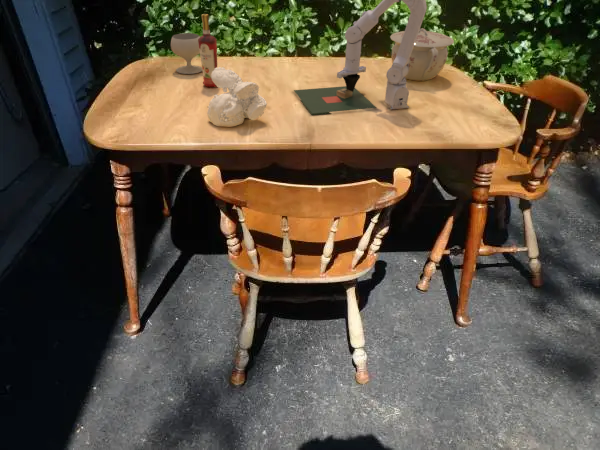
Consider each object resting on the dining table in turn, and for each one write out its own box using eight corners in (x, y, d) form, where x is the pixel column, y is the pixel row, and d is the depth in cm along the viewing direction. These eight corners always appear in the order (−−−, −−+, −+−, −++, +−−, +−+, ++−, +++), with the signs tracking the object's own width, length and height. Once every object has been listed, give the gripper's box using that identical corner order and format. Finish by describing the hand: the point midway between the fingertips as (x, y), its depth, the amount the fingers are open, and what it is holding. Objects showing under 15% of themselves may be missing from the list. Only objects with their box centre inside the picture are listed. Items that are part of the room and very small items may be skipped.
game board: (376, 109, 181) (376, 107, 181) (311, 115, 175) (311, 113, 174) (352, 87, 201) (352, 85, 201) (293, 92, 195) (293, 90, 195)
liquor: (199, 87, 197) (192, 15, 181) (206, 82, 203) (200, 12, 187) (216, 89, 196) (210, 17, 180) (222, 83, 202) (217, 13, 186)
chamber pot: (398, 64, 231) (404, 18, 219) (453, 74, 220) (463, 26, 208) (375, 79, 211) (381, 30, 200) (435, 90, 200) (444, 39, 188)
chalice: (211, 69, 218) (208, 35, 209) (190, 77, 208) (186, 41, 200) (188, 64, 224) (185, 31, 215) (167, 71, 214) (162, 37, 206)
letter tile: (344, 93, 193) (344, 88, 192) (352, 96, 190) (352, 91, 189) (336, 95, 191) (336, 90, 189) (344, 98, 188) (344, 93, 187)
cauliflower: (185, 97, 162) (224, 57, 165) (213, 133, 178) (248, 96, 182) (219, 116, 152) (259, 73, 155) (245, 152, 168) (281, 113, 172)
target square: (342, 102, 185) (342, 101, 185) (326, 103, 183) (326, 103, 183) (337, 96, 190) (337, 96, 190) (321, 97, 189) (321, 97, 188)
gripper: (358, 53, 190) (355, 86, 198) (332, 59, 183) (330, 93, 190) (371, 57, 186) (367, 90, 194) (345, 63, 178) (342, 98, 186)
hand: (349, 92), depth 192 cm, fingers closed
